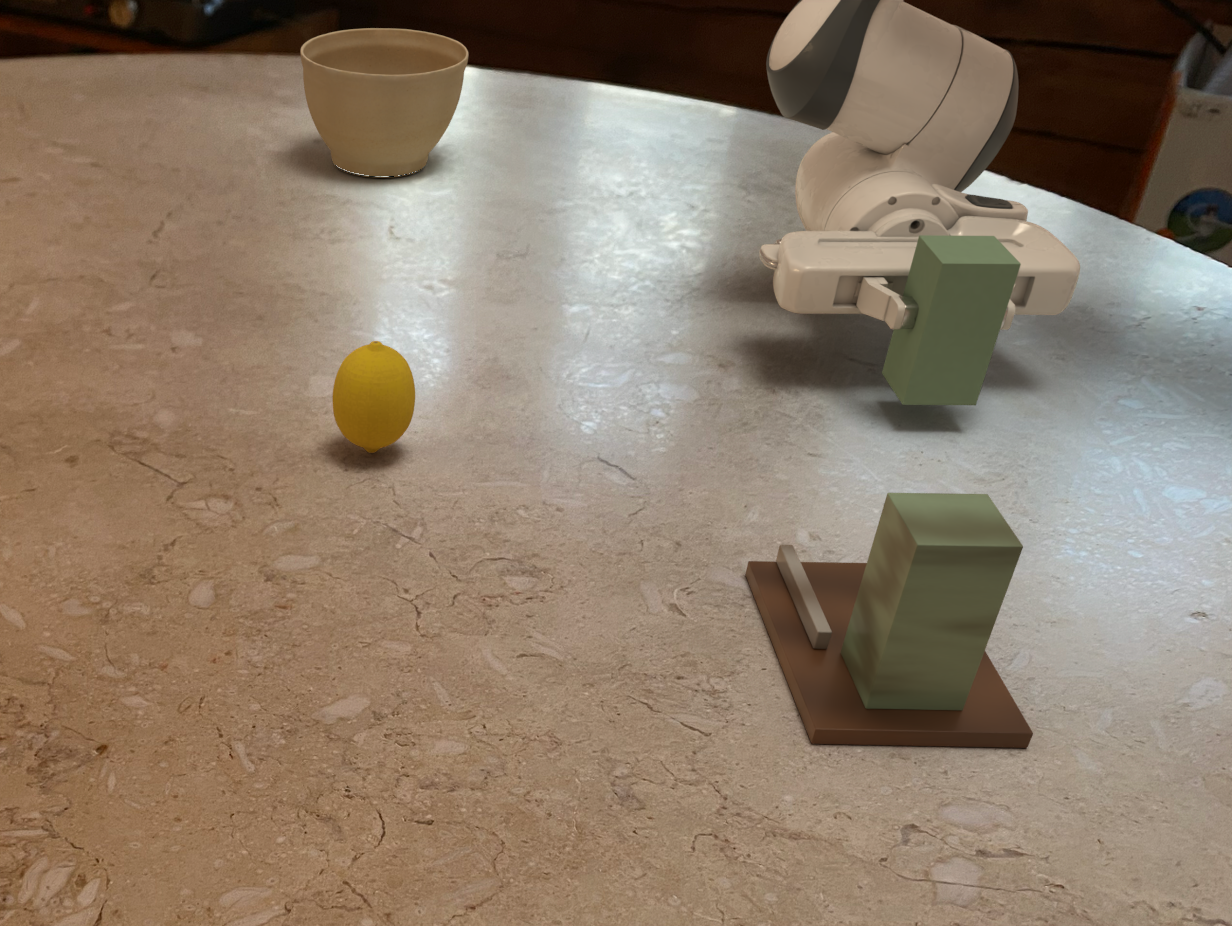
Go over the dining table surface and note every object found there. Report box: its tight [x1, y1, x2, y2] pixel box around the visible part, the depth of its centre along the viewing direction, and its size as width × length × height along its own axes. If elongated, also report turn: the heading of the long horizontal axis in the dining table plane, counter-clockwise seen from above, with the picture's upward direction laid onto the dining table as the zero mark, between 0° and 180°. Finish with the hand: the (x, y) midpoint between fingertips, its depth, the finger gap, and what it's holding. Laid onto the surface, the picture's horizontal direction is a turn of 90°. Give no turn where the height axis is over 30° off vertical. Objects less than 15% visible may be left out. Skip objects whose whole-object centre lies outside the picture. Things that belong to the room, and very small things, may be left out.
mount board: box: [744, 492, 1034, 749], centre depth 78 cm, size 16×11×11 cm
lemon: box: [332, 340, 416, 454], centre depth 97 cm, size 6×6×8 cm
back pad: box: [881, 235, 1021, 406], centre depth 99 cm, size 5×5×10 cm
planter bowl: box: [300, 27, 469, 179], centre depth 143 cm, size 16×16×11 cm
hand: (954, 319), depth 98 cm, fingers closed on back pad, 5 cm apart
